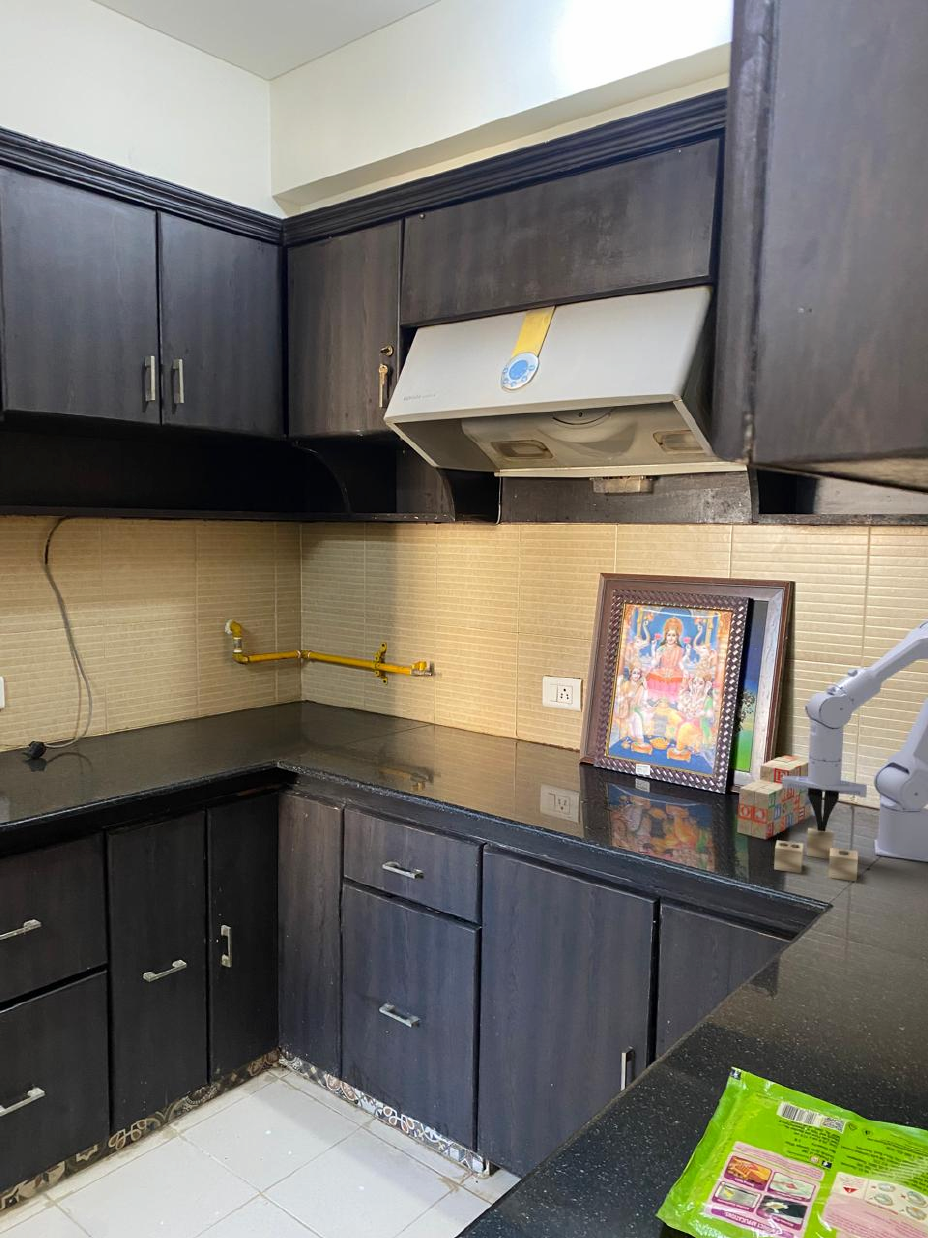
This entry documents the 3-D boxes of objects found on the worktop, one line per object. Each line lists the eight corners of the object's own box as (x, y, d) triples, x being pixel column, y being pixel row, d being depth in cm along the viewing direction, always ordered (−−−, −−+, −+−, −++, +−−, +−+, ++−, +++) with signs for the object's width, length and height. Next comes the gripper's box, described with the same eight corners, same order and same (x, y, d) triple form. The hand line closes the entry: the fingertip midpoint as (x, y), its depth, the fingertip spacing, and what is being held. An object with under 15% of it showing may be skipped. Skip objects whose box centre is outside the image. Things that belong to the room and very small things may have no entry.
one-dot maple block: (856, 873, 163) (857, 850, 163) (856, 882, 159) (857, 858, 158) (829, 869, 165) (830, 846, 164) (828, 878, 161) (829, 855, 160)
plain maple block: (832, 852, 174) (833, 831, 173) (832, 859, 170) (833, 838, 169) (807, 848, 175) (808, 828, 175) (806, 856, 171) (807, 835, 171)
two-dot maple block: (802, 865, 166) (803, 843, 166) (800, 873, 162) (802, 851, 162) (775, 861, 168) (777, 839, 168) (774, 870, 164) (775, 847, 164)
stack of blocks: (766, 841, 179) (769, 778, 178) (736, 833, 183) (739, 772, 182) (810, 816, 195) (813, 759, 194) (782, 810, 199) (784, 754, 198)
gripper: (867, 757, 172) (863, 828, 173) (785, 749, 177) (782, 818, 178) (868, 766, 165) (864, 840, 166) (782, 757, 171) (779, 829, 172)
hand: (821, 829), depth 172 cm, fingers closed
